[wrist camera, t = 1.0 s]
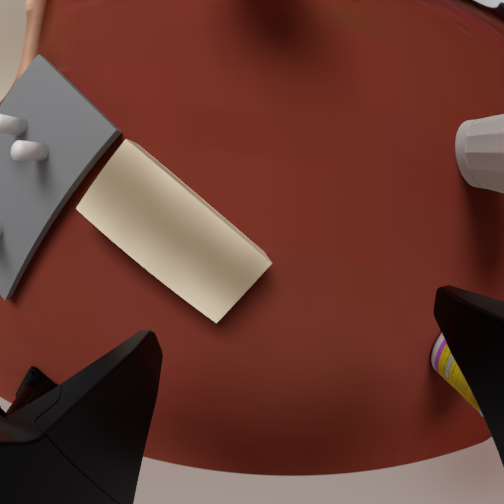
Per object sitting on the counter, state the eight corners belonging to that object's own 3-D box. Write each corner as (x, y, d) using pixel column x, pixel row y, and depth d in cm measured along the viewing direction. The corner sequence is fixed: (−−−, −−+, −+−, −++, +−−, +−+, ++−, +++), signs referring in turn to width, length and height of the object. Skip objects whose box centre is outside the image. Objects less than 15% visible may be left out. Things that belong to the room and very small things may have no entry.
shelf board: (215, 303, 21) (216, 323, 18) (94, 203, 18) (75, 208, 15) (263, 250, 20) (272, 263, 17) (138, 144, 17) (125, 138, 14)
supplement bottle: (420, 373, 25) (491, 450, 13) (440, 316, 23) (533, 386, 11) (459, 363, 26) (527, 424, 14) (478, 311, 24) (560, 365, 12)
